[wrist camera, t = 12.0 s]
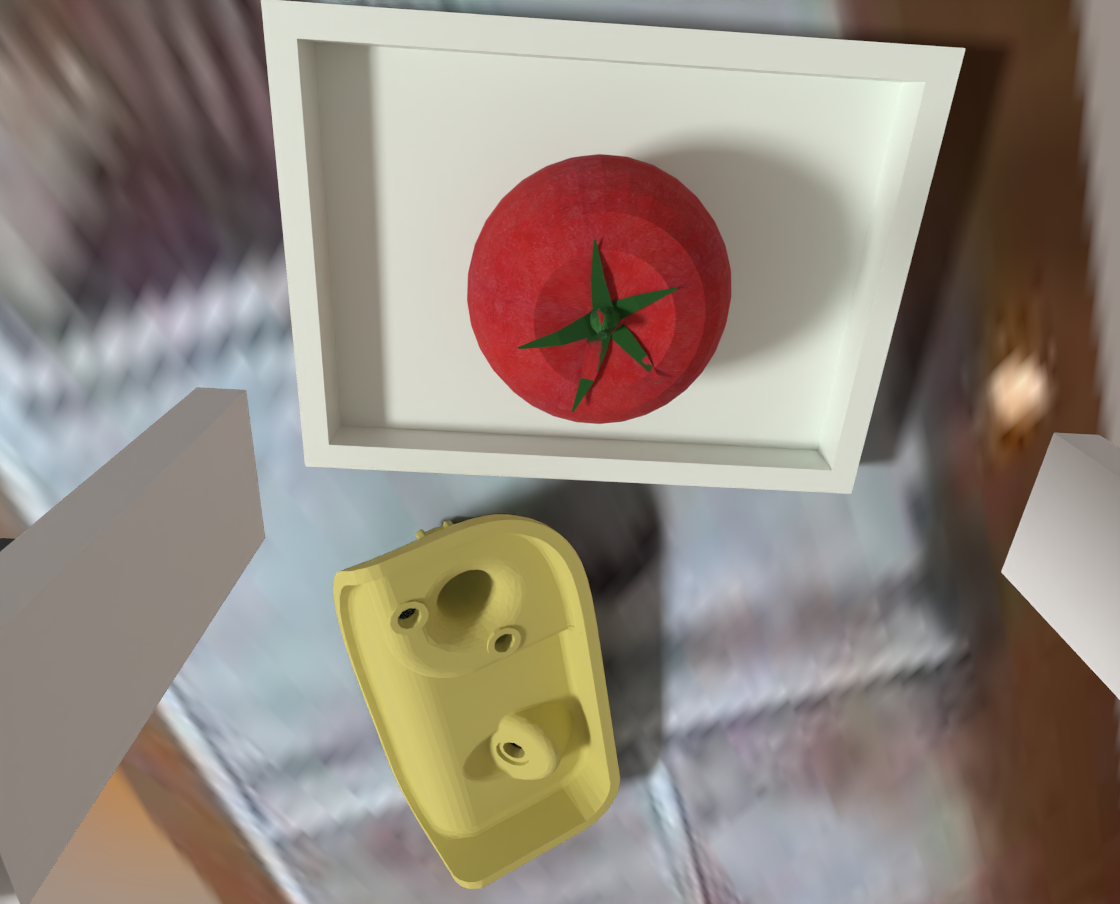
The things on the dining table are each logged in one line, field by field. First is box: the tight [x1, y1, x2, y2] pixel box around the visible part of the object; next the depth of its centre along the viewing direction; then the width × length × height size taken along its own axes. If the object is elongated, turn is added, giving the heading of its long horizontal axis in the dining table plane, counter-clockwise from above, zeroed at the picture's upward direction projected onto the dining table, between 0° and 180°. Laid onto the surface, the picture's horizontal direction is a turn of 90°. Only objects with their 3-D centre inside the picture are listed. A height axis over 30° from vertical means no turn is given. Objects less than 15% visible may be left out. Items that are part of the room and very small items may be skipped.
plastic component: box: [333, 514, 620, 889], centre depth 35 cm, size 20×7×10 cm
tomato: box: [467, 154, 731, 424], centre depth 25 cm, size 9×9×8 cm
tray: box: [261, 0, 966, 494], centre depth 28 cm, size 16×22×2 cm
